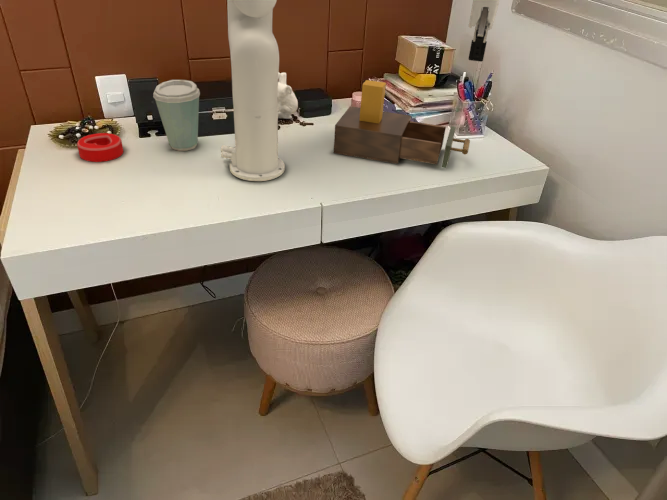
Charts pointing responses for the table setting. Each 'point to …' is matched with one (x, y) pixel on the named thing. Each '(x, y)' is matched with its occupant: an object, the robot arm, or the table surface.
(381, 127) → the cabinet
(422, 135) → the drawer
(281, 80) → the white figurine
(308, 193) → the table surface
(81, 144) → the decorative ornament
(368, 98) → the block
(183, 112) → the disposable coffee cup
